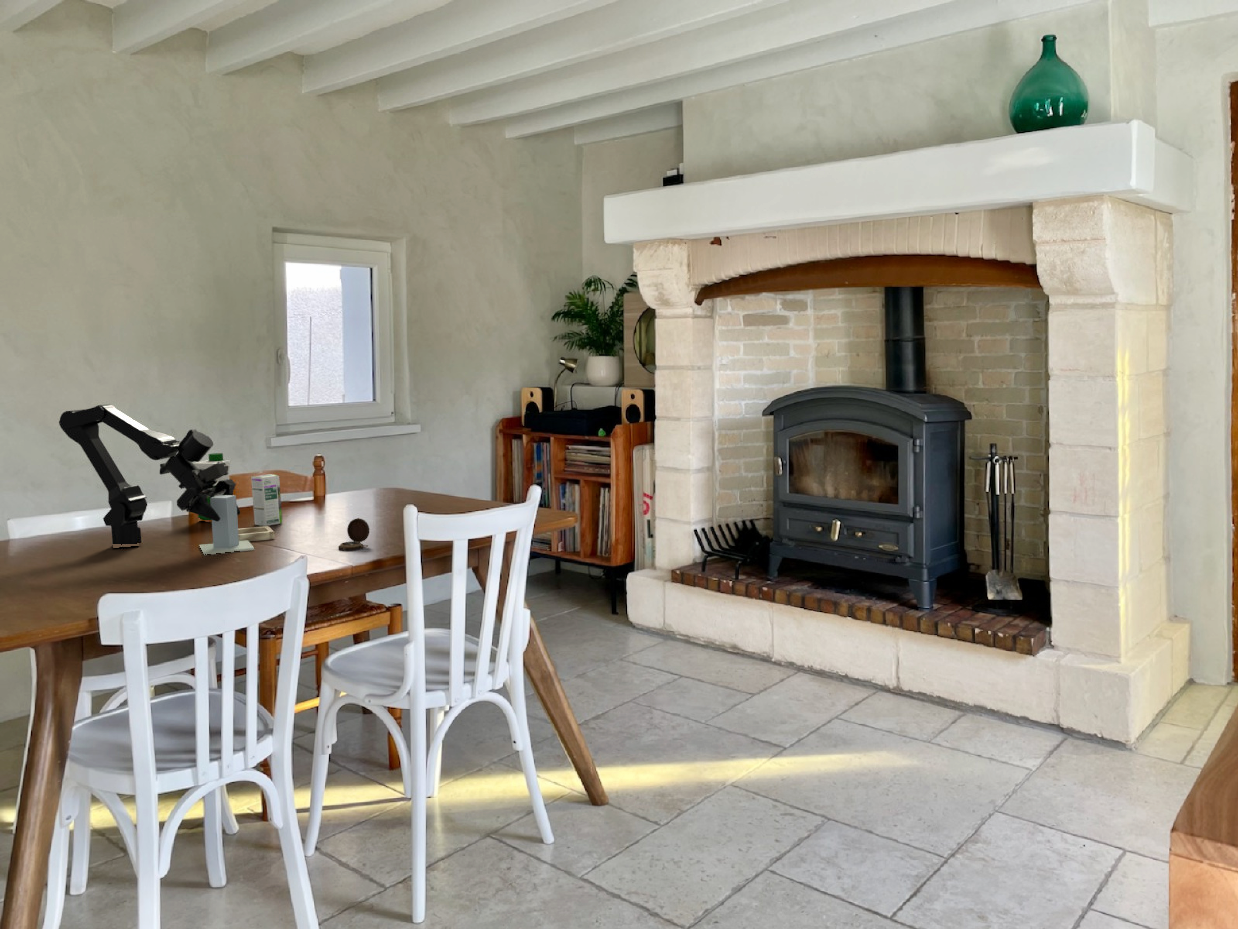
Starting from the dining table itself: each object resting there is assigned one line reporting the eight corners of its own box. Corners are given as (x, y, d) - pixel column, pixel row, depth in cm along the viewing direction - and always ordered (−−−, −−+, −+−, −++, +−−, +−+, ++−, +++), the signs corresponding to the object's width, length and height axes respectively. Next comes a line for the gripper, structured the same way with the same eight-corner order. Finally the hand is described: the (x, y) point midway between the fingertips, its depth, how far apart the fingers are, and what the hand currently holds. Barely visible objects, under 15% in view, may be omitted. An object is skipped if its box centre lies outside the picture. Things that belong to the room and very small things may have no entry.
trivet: (203, 555, 251) (203, 552, 251) (199, 547, 262) (199, 544, 262) (254, 550, 257) (254, 547, 257) (247, 542, 267) (247, 540, 267)
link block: (213, 547, 258) (210, 497, 256) (223, 544, 262) (220, 495, 260) (229, 548, 257) (226, 498, 255) (239, 544, 261) (235, 495, 260)
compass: (333, 550, 255) (332, 522, 254) (350, 544, 262) (349, 517, 261) (361, 552, 252) (359, 523, 251) (377, 546, 260) (376, 518, 259)
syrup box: (265, 526, 290) (262, 477, 289) (253, 524, 294) (250, 475, 292) (282, 523, 295) (279, 474, 293) (271, 521, 298) (268, 473, 297)
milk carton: (237, 518, 306) (233, 453, 303) (217, 523, 297) (212, 456, 295) (213, 517, 308) (208, 452, 306) (192, 522, 300) (188, 456, 297)
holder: (235, 542, 267) (235, 535, 267) (231, 536, 276) (230, 529, 275) (274, 538, 271) (274, 531, 271) (268, 533, 280) (268, 526, 280)
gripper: (184, 456, 248) (227, 501, 247) (226, 448, 266) (267, 490, 265) (158, 487, 250) (200, 532, 250) (201, 477, 269) (242, 519, 268)
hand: (229, 517), depth 258 cm, fingers open, 9 cm apart
